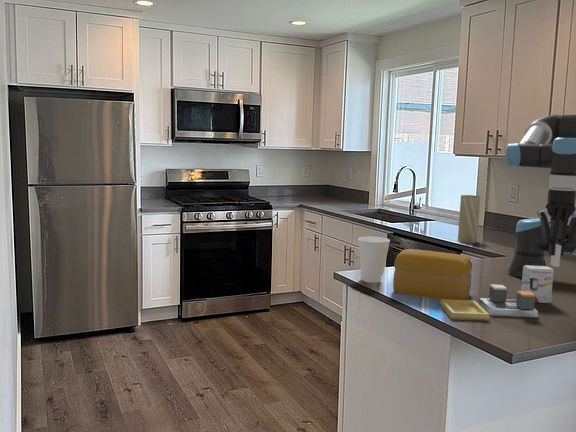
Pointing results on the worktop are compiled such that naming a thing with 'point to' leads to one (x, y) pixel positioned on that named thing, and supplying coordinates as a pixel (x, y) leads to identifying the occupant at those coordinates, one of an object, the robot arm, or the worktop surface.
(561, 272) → the worktop surface
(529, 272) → the ink box
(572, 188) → the robot arm
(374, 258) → the cup
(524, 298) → the grey block
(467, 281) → the bread
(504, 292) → the toggle plain
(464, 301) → the yellow tray
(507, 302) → the panel
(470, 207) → the tube
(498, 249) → the worktop surface
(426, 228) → the worktop surface
